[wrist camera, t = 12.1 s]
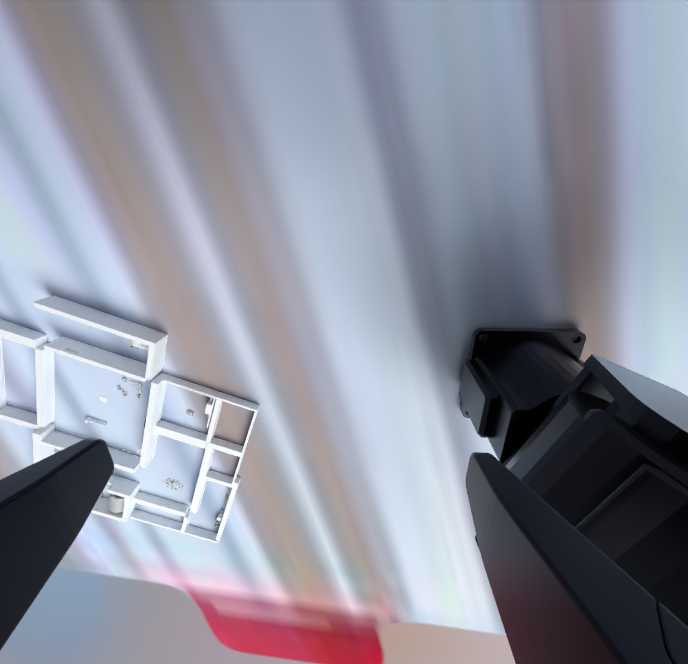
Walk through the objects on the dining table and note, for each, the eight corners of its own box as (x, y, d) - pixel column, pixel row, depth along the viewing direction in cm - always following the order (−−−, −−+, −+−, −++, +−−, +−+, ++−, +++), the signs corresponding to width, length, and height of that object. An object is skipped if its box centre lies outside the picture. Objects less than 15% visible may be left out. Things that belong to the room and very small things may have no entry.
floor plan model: (-102, 236, 20) (-147, 240, 19) (278, 367, 23) (270, 382, 21) (-60, 447, 28) (-90, 465, 26) (223, 530, 30) (215, 552, 28)
